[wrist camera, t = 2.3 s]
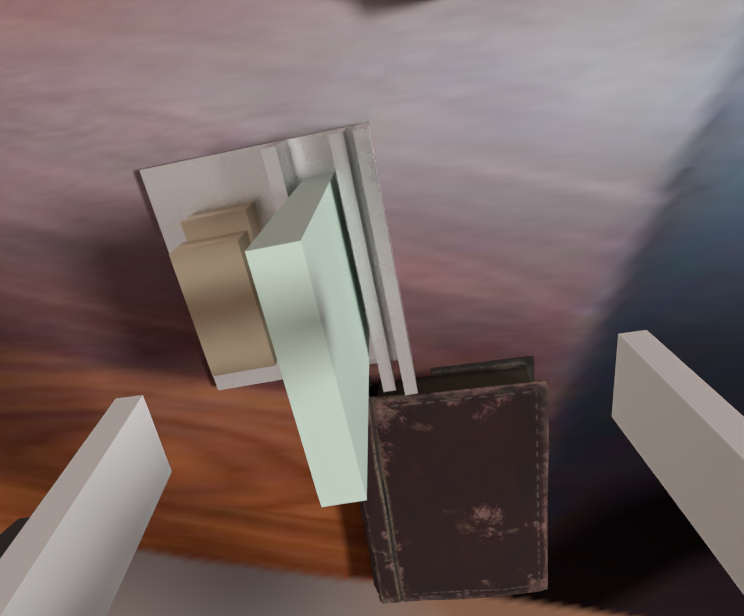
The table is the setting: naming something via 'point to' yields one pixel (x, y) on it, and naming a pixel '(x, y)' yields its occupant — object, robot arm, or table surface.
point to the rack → (269, 192)
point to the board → (318, 333)
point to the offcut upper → (224, 302)
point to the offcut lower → (222, 222)
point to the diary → (459, 484)
